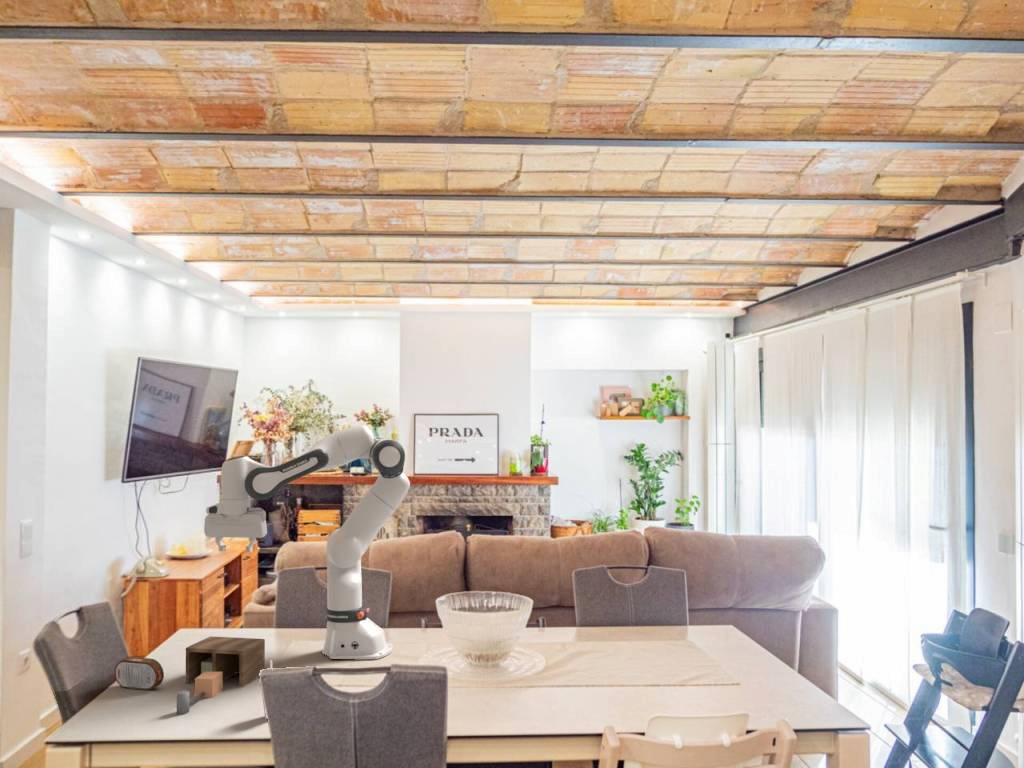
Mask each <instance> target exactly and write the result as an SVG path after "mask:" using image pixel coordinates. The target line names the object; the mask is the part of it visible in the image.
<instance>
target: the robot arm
mask: <svg viewBox="0 0 1024 768" xmlns="http://www.w3.org/2000/svg"><path fill="white" fill-rule="evenodd" d="M360 459H367V460H368V461H369V463H370V464H371V465H372V466H373V468H375V469H376V471H378V477H377V479H376V481H375V482H374V484H373V485H372V486H371V487H370V488H369V489H368V491H366V493H365V495H364V496H363V497H362V498H361V499H360V500H359V502H358V503H357V505H355V507H354V508H353V509H352V511H351V513H350V514H349V516H348V517H347V519H346V520H345V521H344V523H343V524H342V525H341V527H340V528H337V529H336V530H334V531H332V532H331V534H330V535H329V536H328V538H327V541H326V577H327V579H326V580H327V581H326V584H327V585H326V587H327V588H326V591H327V592H326V593H327V595H326V596H327V597H326V598H327V599H326V601H327V602H326V604H327V605H326V608H325V623H326V632H325V641H324V645H323V648H322V651H321V652H322V655H324V654H325V655H324V656H326V655H327V656H326V657H328V656H329V657H328V659H329V658H331V659H355V660H378V659H382V658H384V657H386V656H388V655H389V654H390V653H392V651H393V650H394V645H393V644H392V643H387V639H386V635H385V631H384V629H383V628H381V626H379V625H377V624H376V623H375V622H374V621H372V620H371V619H370V618H369V617H368V613H369V612H370V608H369V607H368V608H365V606H364V605H363V586H362V585H363V584H362V583H363V580H362V556H363V555H364V554H365V552H366V551H367V550H368V549H369V547H370V546H371V544H372V542H373V541H374V539H375V538H376V537H377V535H378V534H379V532H380V530H382V528H383V527H384V525H385V524H386V522H388V520H389V519H390V518H391V517H392V516H393V514H394V513H395V511H397V510H398V508H399V506H400V505H401V504H402V502H403V500H404V499H405V497H406V496H407V493H408V492H409V491H410V488H411V482H410V480H409V477H408V476H407V474H405V473H404V468H405V467H404V466H405V461H406V451H405V449H404V447H403V445H402V444H401V443H399V442H398V441H397V440H395V439H392V438H388V437H387V438H384V437H376V436H375V435H374V433H373V431H372V430H371V429H370V427H368V426H367V425H364V424H358V425H353V426H349V427H346V428H343V429H340V430H338V431H334V432H333V433H331V434H328V435H326V436H324V437H323V438H322V439H319V440H318V441H317V442H316V443H314V444H313V445H312V446H311V447H310V448H309V449H307V451H305V452H304V453H302V454H301V455H300V456H297V457H295V458H293V459H290V460H288V461H286V462H283V463H281V464H278V465H276V466H270V465H267V464H264V463H262V462H258V461H256V460H253V459H252V458H250V457H249V456H248V455H239V456H233V457H229V458H227V459H225V460H224V462H222V466H221V470H220V471H221V472H220V473H221V474H220V487H221V497H220V502H218V503H216V504H213V505H210V506H207V507H206V509H205V512H206V514H207V515H206V516H205V518H204V525H203V526H204V527H203V533H204V535H205V536H206V537H207V538H215V539H214V541H215V542H216V544H217V546H218V552H225V551H227V550H226V549H227V548H226V547H227V546H226V544H224V541H222V540H224V538H244V539H245V538H246V539H247V538H248V542H249V543H248V545H246V546H245V552H246V553H252V552H253V551H254V545H255V543H256V541H257V539H261V538H265V536H267V533H268V526H267V521H266V520H267V513H266V511H265V510H264V509H263V508H262V507H251V498H252V499H253V500H256V501H265V500H268V499H271V498H272V497H273V496H275V495H276V493H278V491H280V489H282V488H283V487H284V486H285V485H287V484H289V483H291V482H294V481H296V480H298V479H300V478H303V477H306V476H307V475H309V474H312V473H317V472H322V471H328V470H332V469H337V468H340V467H343V466H345V465H347V464H349V463H352V462H354V461H356V460H360ZM331 659H330V660H331Z"/></svg>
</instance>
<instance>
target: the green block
mask: <svg viewBox="0 0 1024 768" xmlns="http://www.w3.org/2000/svg"><path fill="white" fill-rule="evenodd" d="M206 671H211V672H212V657H210V658H208V659H206V660H204V661H202V662H201V674H203V673H204V672H206Z"/></svg>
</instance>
